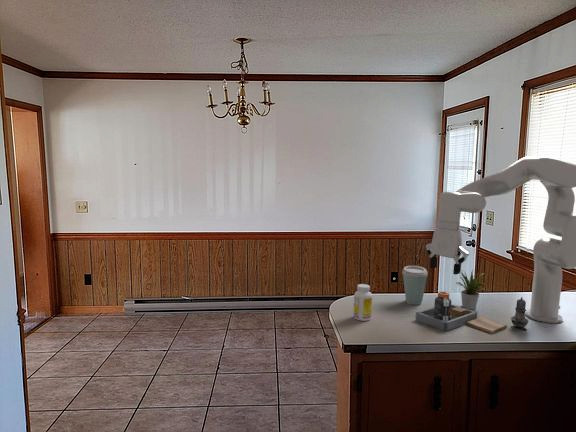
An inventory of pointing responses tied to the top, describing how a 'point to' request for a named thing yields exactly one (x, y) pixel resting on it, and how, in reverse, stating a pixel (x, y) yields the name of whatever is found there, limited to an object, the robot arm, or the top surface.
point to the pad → (486, 325)
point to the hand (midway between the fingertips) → (444, 270)
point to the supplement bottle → (362, 303)
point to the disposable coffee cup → (414, 283)
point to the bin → (451, 324)
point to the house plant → (470, 291)
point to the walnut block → (457, 312)
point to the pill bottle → (442, 307)
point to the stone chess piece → (519, 316)
